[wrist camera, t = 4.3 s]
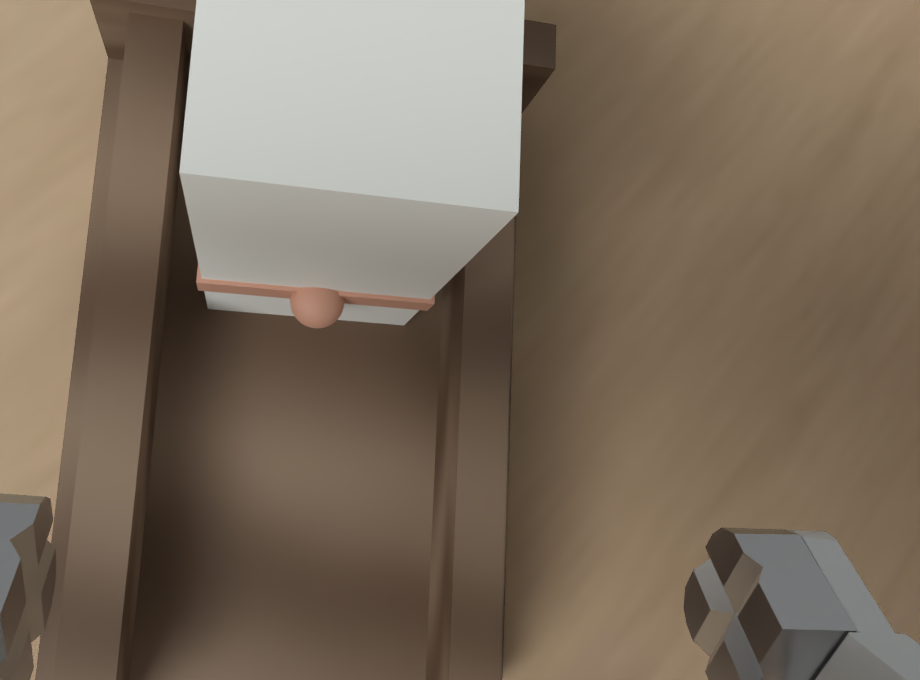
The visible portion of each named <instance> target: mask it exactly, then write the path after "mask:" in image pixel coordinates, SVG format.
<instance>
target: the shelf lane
mask: <svg viewBox="0 0 920 680" xmlns="http://www.w3.org/2000/svg"><path fill="white" fill-rule="evenodd" d="M90 2H91V5H92V8H93V11H94V15H95V18H96V21H97V24H98V27H99V30H100V33H101V36H102V40H103V43H104V46H105V49H106V52H107V55H108V66H107V74H106V83H105V91H104V100H103V108H102V117H101V125H100V134H99V142H98V151H97V159H96V168H95V176H94V185H93V193H92V202H91V211H90V219H89V228H88V236H87V245H86V253H85V262H84V270H83V279H82V287H81V296H80V304H79V313H78V321H77V330H76V338H75V347H74V355H73V364H72V372H71V381H70V389H69V398H68V406H67V415H66V423H65V432H64V440H63V449H62V457H61V466H60V474H59V483H58V491H57V500H56V508H55V517H54V525H53V534H52V542H51V544H52V545H53V546H54V547H55V549H56V582H55V588H54V594H53V600H52V605H51V610H50V614H49V617H48V621H47V624H46V628H45V631H44V632H43V633H42V634H41V636H40V645H39V653H38V662H37V670H36V679H35V680H502V674H503V640H504V606H505V572H506V538H507V504H508V470H509V436H510V402H511V368H512V334H513V300H514V266H515V232H516V215H515V216H514V217H513V218H512V219H511V220H510V221H509V222H508V223H507V224H506V225H505V226H504V227H503V228H502V229H501V230H500V231H499V232H498V233H497V234H496V235H495V236H494V237H493V238H492V239H491V240H490V241H489V242H488V243H487V244H486V245H485V246H484V247H483V248H482V249H481V250H480V251H479V252H478V253H477V254H476V255H475V256H474V257H473V258H472V259H471V260H470V261H469V262H468V263H467V264H466V265H465V266H464V267H463V268H462V269H461V270H460V271H459V272H458V273H457V274H456V275H455V276H454V277H453V278H452V279H451V280H450V281H449V282H448V283H447V284H445V285H444V286H443V287H442V288H441V289H440V290H439V291H438V292H437V293H436V294H435V304H434V305H433V306H432V307H431V308H430V309H429V310H428V311H424V310H419V311H418V312H417V313H416V314H415V315H414V316H413V317H412V318H411V319H410V320H409V321H408V322H407V323H406V324H405V325H393V324H381V323H369V322H357V321H345V320H337V321H335V322H334V323H333V324H332V325H330V326H327V327H325V328H310V327H307V326H305V325H303V324H302V323H300V322H299V321H298V320H297V319H296V318H295V316H285V315H273V314H261V313H249V312H237V311H225V310H213V309H208V307H207V302H206V297H205V293H204V291H198V288H197V284H196V280H197V269H198V259H197V254H196V250H195V245H194V240H193V235H192V231H191V226H190V221H189V216H188V212H187V207H186V202H185V197H184V193H183V188H182V183H181V178H180V174H179V170H180V160H181V150H182V140H183V130H184V120H185V110H186V100H187V90H188V80H189V70H190V60H191V50H192V40H193V30H194V20H195V10H196V0H90ZM555 48H556V25H553V24H548V23H542V22H536V21H530V20H524V40H523V75H522V110H521V114H522V112H523V111H524V110H525V108H526V107H527V106H528V104H529V103H530V102H531V100H532V99H533V98H534V96H535V95H536V94H537V92H538V91H539V90H540V88H541V87H542V86H543V84H544V83H545V82H546V80H547V79H548V78H549V76H550V75H551V74H552V72H553V71H554V70H555Z"/></svg>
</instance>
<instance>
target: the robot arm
mask: <svg viewBox="0 0 920 680" xmlns="http://www.w3.org/2000/svg"><path fill="white" fill-rule="evenodd" d="M52 522H53V516H52V508H51V500H50V499H49V498H47V497H42V496H28V495H13V494H0V680H30V677H31V674H32V671H33V668H34V665H33V656H32V646H31V642H32V641H34V640H35V639H36V638H37V637H38V636H39V635H41V634H42V633H43V632H44V631H45V628H46V624H47V621H48V617H49V614H50V610H51V605H52V600H53V594H54V588H55V582H56V549H55V547H54V546H53V545H52V544H51V543H50V542H49V541H47V537H48V534H49V531H50V528H51V525H52ZM706 550H707V552H708V555H709V557H710V559H709V560H707V561H706V562H704V563H703V564H701V565H700V566H698V567H697V568H695V569H694V570H693V572H692V574H691V576H690V578H689V581H688V583H687V585H686V587H685V599H684V611H685V617H686V623H687V626H688V629H689V631H690V634H691V637H692V639H693V641H694V642H695V643H696V644H697V645H698V646H699V647H700V648H701V649H703V650H704V651H705V652H706V653H707V654H708V655H709V656H710V658H709V661H708V665H707V668H706V671H705V672H706V674H707V677H708V679H709V680H920V644H918V643H917V642H916V641H914V640H913V639H912V638H910V637H909V636H908V635H906V634H899V633H895V632H894V631H893V629H892V627H891V626H890V624H889V623H888V621H887V619H886V618H885V616H884V615H883V613H882V612H881V610H880V608H879V607H878V605H877V604H876V602H875V600H874V599H873V597H872V596H871V594H870V592H869V591H868V589H867V588H866V586H865V584H864V583H863V581H862V580H861V578H860V576H859V575H858V573H857V572H856V570H855V569H854V567H853V565H852V564H851V562H850V561H849V559H848V557H847V556H846V554H845V553H844V551H843V549H842V548H841V546H840V545H839V543H838V541H837V540H836V539H835V538H834V537H833V536H831V535H830V534H829V533H827V532H824V531H799V530H791V531H788V530H778V529H749V528H720V529H719V530H718V531H716V532H715V533H713V534H712V536H711V538H710V540H709V542H708V543H707V545H706Z"/></svg>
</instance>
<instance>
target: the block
mask: <svg viewBox="0 0 920 680" xmlns="http://www.w3.org/2000/svg"><path fill="white" fill-rule="evenodd" d="M524 6H525V0H196V10H195V20H194V30H193V40H192V50H191V60H190V70H189V80H188V90H187V100H186V110H185V120H184V130H183V140H182V150H181V160H180V170H179V174H180V178H181V183H182V188H183V193H184V197H185V202H186V207H187V212H188V216H189V221H190V226H191V231H192V235H193V240H194V245H195V250H196V254H197V259H198V269H197V280H196V284H197V288H198V291H204V293H205V297H206V302H207V307H208V309H213V310H225V311H237V312H249V313H261V314H273V315H285V316H295V318H296V319H297V320H298V321H299V322H300V323H302V324H303V325H305V326H307V327H310V328H325V327H327V326H330V325H332V324H333V323H334V322H335V321H337V320H345V321H357V322H369V323H381V324H393V325H405V324H406V323H407V322H408V321H409V320H410V319H411V318H412V317H413V316H414V315H415V314H416V313H417V312H418V311H419V310H424V311H428V310H429V309H430V308H431V307H432V306H433V305H434V304H435V294H436V293H437V292H438V291H439V290H440V289H441V288H442V287H443V286H444V285H445V284H447V283H448V282H449V281H450V280H451V279H452V278H453V277H454V276H455V275H456V274H457V273H458V272H459V271H460V270H461V269H462V268H463V267H464V266H465V265H466V264H467V263H468V262H469V261H470V260H471V259H472V258H473V257H474V256H475V255H476V254H477V253H478V252H479V251H480V250H481V249H482V248H483V247H484V246H485V245H486V244H487V243H488V242H489V241H490V240H491V239H492V238H493V237H494V236H495V235H496V234H497V233H498V232H499V231H500V230H501V229H502V228H503V227H504V226H505V225H506V224H507V223H508V222H509V221H510V220H511V219H512V218H513V217H514V216H515V215H516V214H517V213H518V212H519V179H520V144H521V110H522V75H523V40H524Z"/></svg>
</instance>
